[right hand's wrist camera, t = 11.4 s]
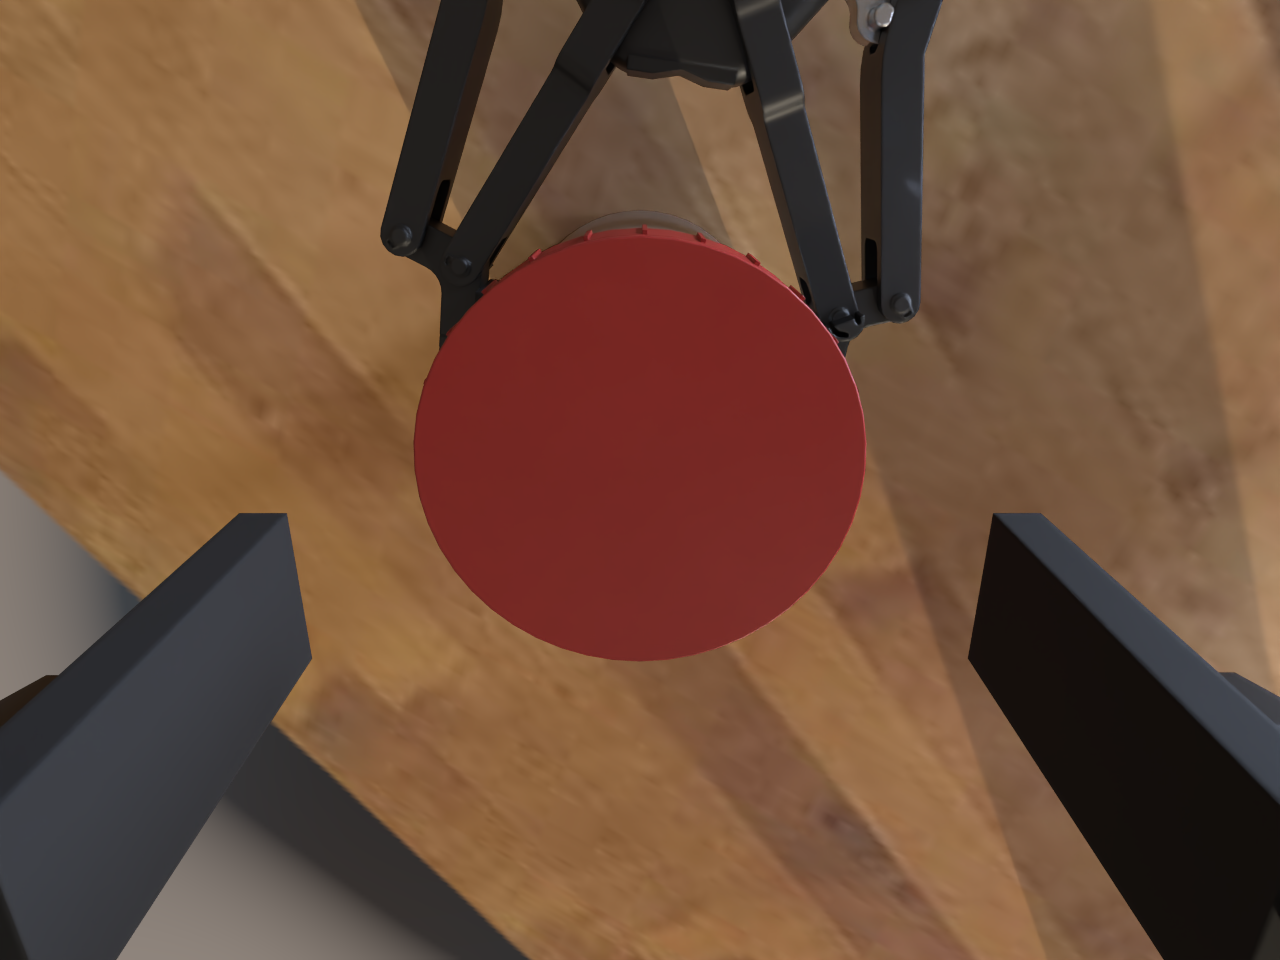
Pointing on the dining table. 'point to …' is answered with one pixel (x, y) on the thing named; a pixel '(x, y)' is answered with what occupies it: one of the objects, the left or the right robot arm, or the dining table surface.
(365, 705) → the dining table surface
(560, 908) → the dining table surface
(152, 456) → the dining table surface
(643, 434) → the lid
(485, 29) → the left robot arm
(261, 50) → the dining table surface
